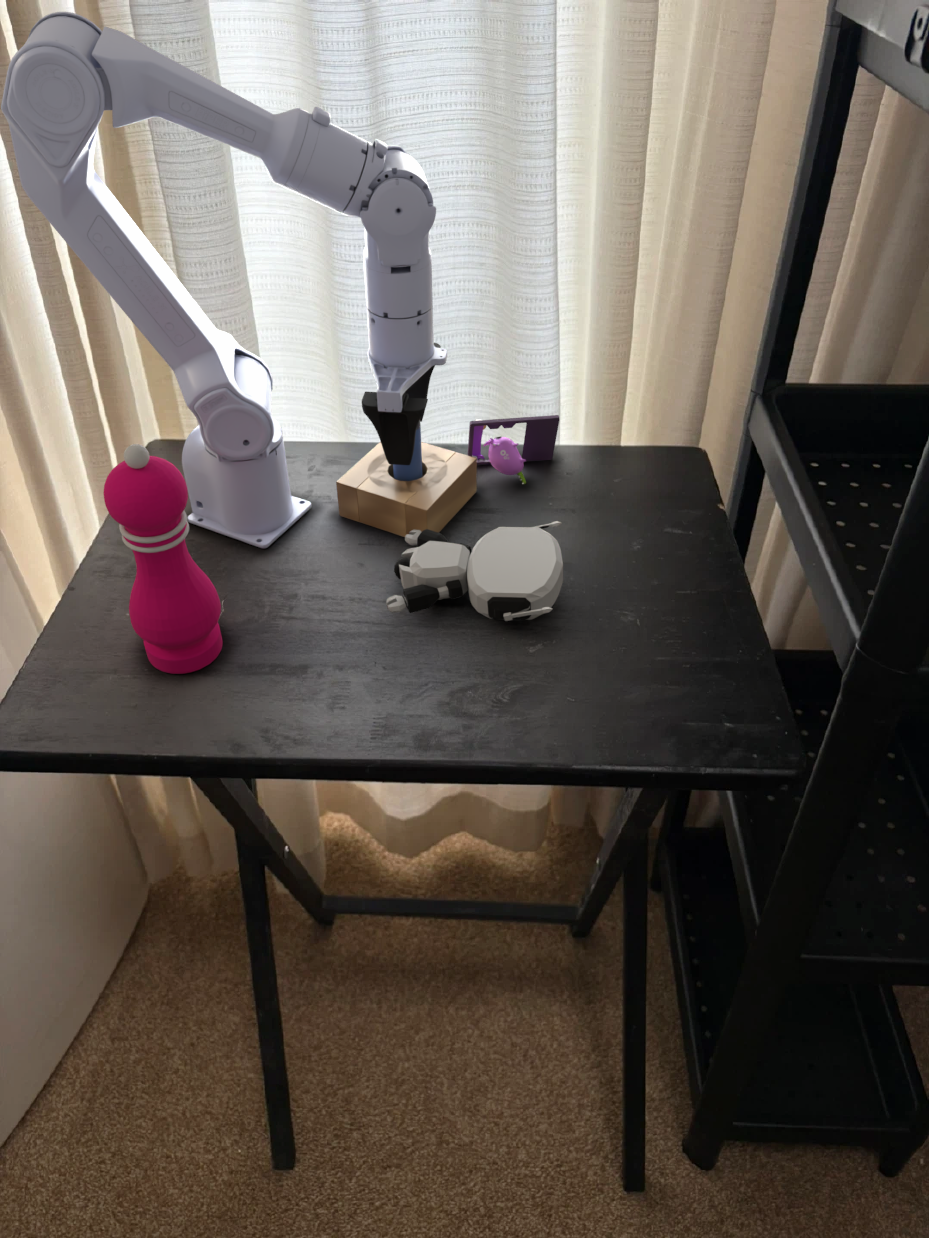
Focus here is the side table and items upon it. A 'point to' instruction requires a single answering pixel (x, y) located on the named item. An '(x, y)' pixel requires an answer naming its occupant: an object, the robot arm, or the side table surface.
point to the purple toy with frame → (504, 449)
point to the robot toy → (483, 572)
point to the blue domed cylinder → (415, 466)
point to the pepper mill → (163, 564)
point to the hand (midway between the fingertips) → (406, 440)
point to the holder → (407, 491)
